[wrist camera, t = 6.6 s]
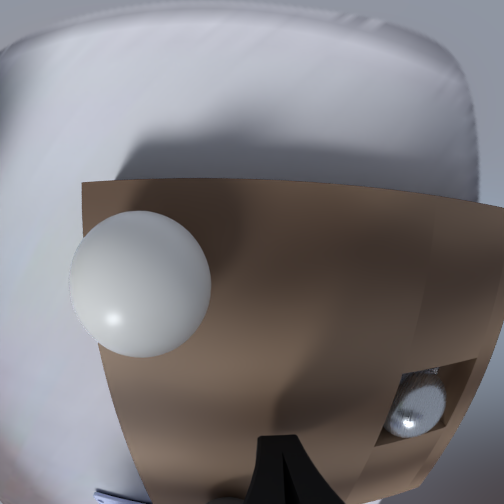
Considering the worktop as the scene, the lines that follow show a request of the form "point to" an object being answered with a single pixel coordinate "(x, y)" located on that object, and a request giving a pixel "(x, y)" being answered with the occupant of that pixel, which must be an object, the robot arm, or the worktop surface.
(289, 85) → the worktop surface
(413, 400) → the steel ball
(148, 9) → the worktop surface
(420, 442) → the board
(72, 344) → the worktop surface
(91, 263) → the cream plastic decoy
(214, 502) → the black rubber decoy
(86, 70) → the worktop surface
